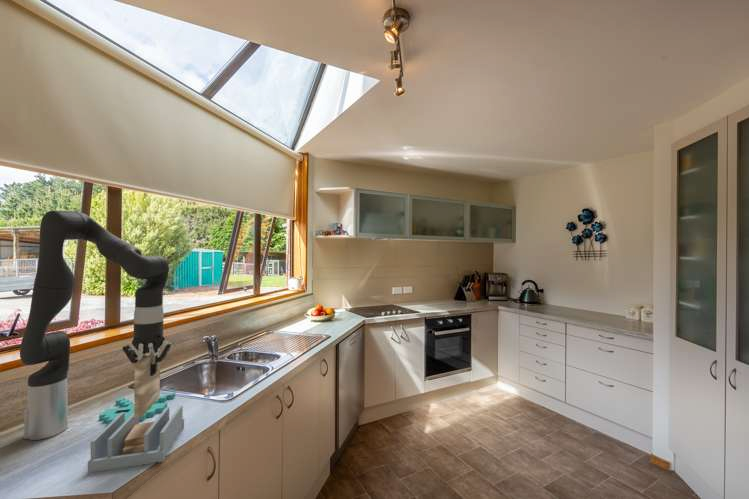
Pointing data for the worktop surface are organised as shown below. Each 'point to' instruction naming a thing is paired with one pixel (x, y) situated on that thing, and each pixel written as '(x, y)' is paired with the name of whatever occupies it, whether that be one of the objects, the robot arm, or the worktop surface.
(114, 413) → the alien figure
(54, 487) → the worktop surface
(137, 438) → the offcut stack
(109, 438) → the rack
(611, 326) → the worktop surface
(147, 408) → the light wooden flat slab
